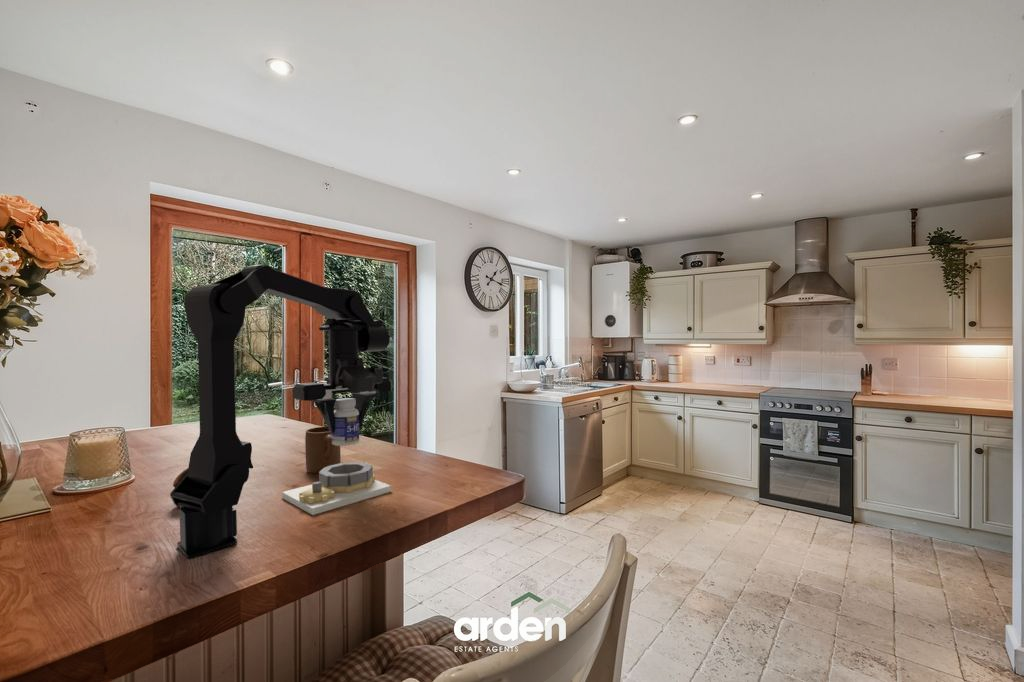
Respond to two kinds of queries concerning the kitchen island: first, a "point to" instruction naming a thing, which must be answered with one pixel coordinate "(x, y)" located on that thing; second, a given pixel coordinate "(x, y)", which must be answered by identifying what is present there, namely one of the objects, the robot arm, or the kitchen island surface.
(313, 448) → the mug
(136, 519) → the kitchen island surface
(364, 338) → the robot arm
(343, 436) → the pill bottle
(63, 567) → the kitchen island surface
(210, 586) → the kitchen island surface
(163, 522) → the kitchen island surface
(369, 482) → the gear board
